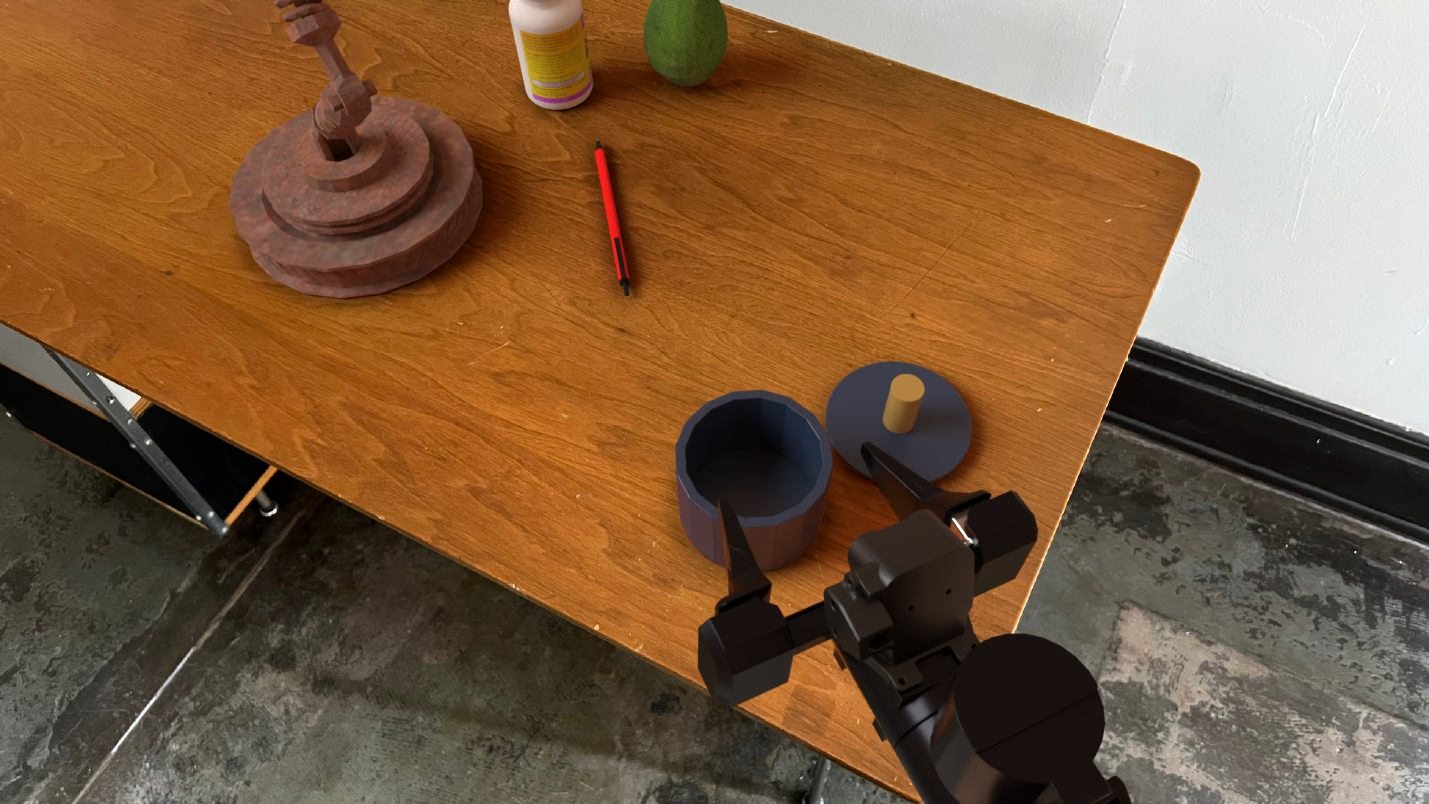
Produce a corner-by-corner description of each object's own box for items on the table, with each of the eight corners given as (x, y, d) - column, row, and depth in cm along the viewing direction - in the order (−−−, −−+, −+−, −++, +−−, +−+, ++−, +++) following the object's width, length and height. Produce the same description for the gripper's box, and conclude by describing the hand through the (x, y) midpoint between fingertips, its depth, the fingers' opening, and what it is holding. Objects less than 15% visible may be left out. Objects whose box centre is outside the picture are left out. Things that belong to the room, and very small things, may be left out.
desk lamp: (387, 61, 98) (210, -443, 64) (548, 252, 84) (429, -266, 50) (184, 147, 91) (-131, -364, 58) (322, 370, 77) (10, -135, 44)
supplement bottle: (605, 98, 94) (589, -21, 84) (543, 122, 93) (519, 3, 82) (575, 60, 98) (557, -60, 87) (515, 82, 96) (488, -37, 85)
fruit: (701, 114, 93) (699, 4, 83) (632, 88, 95) (621, -23, 85) (741, 68, 97) (743, -43, 87) (673, 43, 99) (667, -68, 89)
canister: (849, 535, 69) (861, 486, 63) (718, 596, 67) (718, 552, 60) (780, 424, 74) (785, 368, 68) (656, 477, 72) (650, 425, 65)
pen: (622, 299, 81) (620, 290, 80) (593, 143, 91) (591, 134, 90) (632, 297, 81) (631, 288, 80) (602, 142, 91) (601, 133, 90)
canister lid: (997, 456, 72) (1016, 416, 68) (871, 515, 70) (882, 478, 65) (918, 349, 78) (930, 306, 73) (798, 400, 75) (803, 359, 70)
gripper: (1161, 570, 43) (962, 328, 51) (786, 748, 38) (635, 447, 46) (1080, 668, 51) (922, 448, 60) (768, 823, 46) (644, 559, 55)
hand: (793, 473), depth 55 cm, fingers open, 9 cm apart
